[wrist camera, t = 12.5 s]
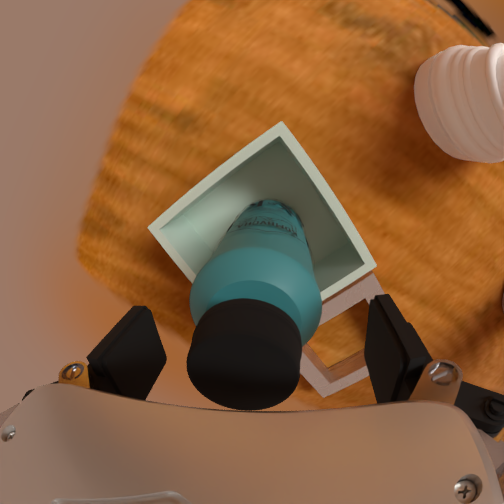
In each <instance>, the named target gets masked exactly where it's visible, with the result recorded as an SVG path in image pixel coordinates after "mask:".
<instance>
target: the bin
mask: <svg viewBox="0 0 504 504" xmlns="http://www.w3.org/2000/svg"><path fill="white" fill-rule="evenodd" d="M266 198H270V199H266ZM259 199H260V200H259ZM276 199H277V200H276ZM258 200H259V201H261V200H275V201H279V202H280V200H281V202H282V203H283V202H284V204H285V203H286V205H288V204H289V205H288V206H289V207H292V210H294V212H295V213H296V214H298V215H299V217H300V219H301V222H302V223H301V224H304V227H303V226H302V228H303V231H304V235H305V238H306V239H307V242H308V244H309V245H310V246H309V247H310V248H309V249H311V251H310V252H309V253H310V256H311V260H312V267H313V270H314V275H315V279H316V282H317V284H318V287H319V290H320V294H321V299H322V301H323V300H325V299H326V298H328V297H330V296H331V295H333V294H334V293H336V292H338V291H339V290H341V289H343V288H344V287H346V286H347V285H349V284H350V283H352V282H354V281H355V280H357V279H358V278H360V277H361V276H363V275H364V274H366V273H367V272H369V271H370V270H372V269H373V268H375V267H376V266H377V265H376V263H375V261H374V260H373V258H372V256H371V254H370V252H369V251H368V249H367V247H366V245H365V244H364V242H363V240H362V238H361V237H360V235H359V233H358V232H357V230H356V228H355V226H354V225H353V223H352V222H351V220H350V218H349V217H348V215H347V213H346V212H345V210H344V209H343V207H342V205H341V204H340V202H339V201H338V199H337V198H336V196H335V195H334V193H333V191H332V190H331V188H330V187H329V185H328V184H327V182H326V181H325V179H324V178H323V176H322V175H321V174H320V172H319V171H318V169H317V168H316V166H315V165H314V163H313V162H312V161H311V159H310V158H309V156H308V155H307V154H306V152H305V151H304V150H303V148H302V147H301V145H300V144H299V143H298V141H297V140H296V139H295V137H294V136H293V135H292V133H291V132H290V131H289V129H288V128H287V127H286V126H285V124H284V123H283V122H282V121H281V122H279V123H278V124H277V125H275V126H274V127H272V128H271V129H269V130H268V131H266V132H265V133H264V134H262V135H261V136H259V137H258V138H257V139H255V140H254V141H252V142H251V143H250V144H248V145H247V146H246V147H244V148H243V149H242V150H240V151H239V152H238V153H236V154H235V155H234V156H232V157H231V158H230V159H228V160H227V161H226V162H224V163H223V164H222V165H221V166H219V167H218V168H217V169H215V170H214V171H213V172H212V173H210V174H209V175H208V176H207V177H205V178H204V179H203V180H202V181H200V182H199V183H198V184H197V185H196V186H194V187H193V188H192V189H191V190H190V191H188V192H187V193H186V194H185V195H184V196H182V197H181V198H180V199H179V200H178V201H177V202H175V203H174V204H173V205H172V206H171V207H170V208H168V209H167V210H166V211H165V212H164V213H163V214H162V215H161V216H159V217H158V218H157V219H156V220H155V221H154V222H153V223H152V224H151V225H149V226H148V227H147V228H148V229H149V230H150V232H151V233H152V234H153V235H154V237H155V238H156V239H157V241H158V242H159V243H160V244H161V246H162V247H163V248H164V249H165V251H166V252H167V253H168V255H169V256H170V257H171V258H172V259H173V261H174V262H175V263H176V264H177V266H178V267H179V268H180V269H181V271H182V272H183V273H184V274H185V275H186V277H187V278H188V279H189V280H190V281H191V283H192V284H193V282H194V280H195V278H196V276H197V274H198V273H199V271H200V270H201V268H202V267H203V266H204V265H205V264H206V263H207V262H208V261H209V259H210V258H211V256H212V255H213V254H214V252H215V251H216V249H217V247H218V246H219V244H220V243H219V242H221V240H222V239H223V238H224V237H225V236H224V235H226V233H227V231H228V228H229V227H230V226H231V225H232V223H233V222H235V221H236V220H237V219H238V217H239V216H240V214H241V213H242V212H243V211H244V210H245V209H246V208H247V207H248V206H247V205H249V206H250V204H252V202H253V203H255V202H257V201H258ZM245 206H246V208H245ZM244 208H245V209H244ZM243 209H244V210H243ZM242 210H243V211H242ZM240 211H241V212H240ZM296 211H297V212H296ZM237 215H238V217H237ZM298 215H297V216H298ZM236 217H237V218H236ZM233 224H234V223H233ZM229 230H230V229H229ZM305 231H306V232H305ZM308 240H309V241H308ZM213 251H214V252H213ZM311 252H312V254H311Z"/></svg>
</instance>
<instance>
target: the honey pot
mask: <svg viewBox="0 0 504 504" xmlns="http://www.w3.org/2000/svg"><path fill="white" fill-rule="evenodd" d="M414 96H415V103H416V107H417V110H418V114H419V117H420V119H421V121H422V123H423V125H424V127H425V130H426V131H427V133H428V134H429V135H430V137H431V138H432V140H433V141H434V142H435V143H436V144H437V145H438V146H439V147H440V148H441V149H442V150H443V151H444V152H445V153H447V154H449V155H450V156H452V157H454V158H457V159H461V160H466V161H475V162H484V163H485V162H487V163H496V162H502V161H503V160H504V44H503V43H498V44H493V45H492V46H491V47H490V48H488V47H484V46H479V47H475V46H464V45H458V46H453V47H449V48H448V49H446V50H444V51H442V52H440V53H438V54H436V55H434V56H433V57H431V58H429V59H427V60H426V61H425V62H424V63H423V64H422V65H421V66H420V68H419V69H418V71H417V73H416V76H415V83H414Z"/></svg>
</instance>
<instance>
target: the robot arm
mask: <svg viewBox="0 0 504 504" xmlns="http://www.w3.org/2000/svg"><path fill="white" fill-rule="evenodd" d="M502 308H503V312H504V293H503V300H502ZM87 359H88V361H89V365H88V366H87V365H86V363H84V362H82V361H75V362H71V363H69V364H67V365H65V366H64V367H63V368H62V369H61V371H60V372H59V380H58V381H57V382H54V383H51V384H47V385H43V386H39V387H37V388H36V389H33V390H29V391H28V392H26V394H25V396H24V397H23V399H22V402H21V403H18V404H17V405H15V406H13V407H11V408H10V409H8V410H6V411H4V412H3V413H1V414H0V504H504V395H502V394H499V393H496V392H493V391H490V390H487V389H484V388H481V387H478V386H475V385H472V384H470V383H467V382H464V381H462V375H463V374H462V371H461V369H460V367H459V366H458V365H457V364H455V363H454V362H452V361H449V360H445V359H438V360H434V361H433V359H432V358H431V356H430V354H429V353H428V351H427V349H426V347H425V346H424V344H423V342H422V341H421V339H420V337H419V336H418V334H417V332H416V331H415V329H414V328H413V326H412V324H411V323H409V322H408V323H407V322H406V320H405V319H404V317H403V315H402V314H401V312H400V311H399V309H398V308H397V306H396V304H395V303H394V301H393V300H392V298H391V297H390V295H389V294H382V295H375V297H374V299H371V300H370V304H369V315H368V325H367V333H366V341H365V349H364V359H365V362H366V366H367V369H368V372H369V376H370V379H371V382H372V386H373V390H374V393H375V397H376V400H377V404H371V405H362V406H353V407H345V408H335V409H322V410H306V411H233V410H217V409H205V408H195V407H186V406H178V405H171V404H164V403H157V402H152V401H146V400H145V399H146V398H147V396H148V394H149V392H150V390H151V389H152V387H153V385H154V383H155V381H156V380H157V378H158V376H159V374H160V372H161V371H162V369H163V367H164V365H165V364H166V360H167V358H166V354H165V351H164V348H163V345H162V343H161V340H160V337H159V334H158V331H157V328H156V325H155V322H154V318H153V315H152V312H151V310H150V309H148V308H147V307H146V306H133V307H132V308H131V309H130V310H129V311H128V312H127V313H126V315H125V316H124V317H123V318H122V319H121V320H120V321H119V322H118V323H117V324H116V325H115V326H114V327H113V328H112V330H111V331H110V332H109V333H108V334H107V335H106V336H105V337H104V339H102V340H101V342H100V343H99V344H98V345H97V346H96V347H95V348H94V349H93V351H92V352H91V353H90V354H89V355H88V356H87Z"/></svg>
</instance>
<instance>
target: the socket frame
mask: <svg viewBox="0 0 504 504" xmlns="http://www.w3.org/2000/svg"><path fill="white" fill-rule="evenodd" d="M382 294H384V292H383V290H382V288H381V286H380V284H379V282H378V281H377V279H376V277H375V275H374V273H373V272H372V270H370V271H369V272H367V273H366V274H364V275H363V276H361V277H360V278H358V279H357V280H355V281H354V282H352V283H350V284H349V285H347V286H346V287H344V288H343V289H341V290H339V291H338V292H336V293H334V294H333V295H331V296H330V297H328V298H326V299H325V300H323V301H322V315H321V319H320V323H319V325H321V324H323V323H325V322H326V321H328V320H330V319H332V318H333V317H335V316H337V315H338V314H340V313H342V312H343V311H345V310H347V309H348V308H350V307H352V306H353V305H355V304H356V303H358V302H360V301H361V300H363V299H364V298H366V300H367V302H368V304H370V300H371V299H374V297H375V295H382ZM319 325H318V326H319ZM300 373H301V374H302V375H303V377H304V378H305V379H306V380H307V381H308V382H309V383H310V384H311V385H312V386H313V387H314V388H315V389H316V390H317V392H318V393H319V394H320V395H321V396H322V397H323V398H324V397H326V396H328V395H331V394H333V393H335V392H337V391H339V390H341V389H343V388H345V387H348V386H350V385H352V384H354V383H356V382H358V381H359V380H361V379H363V378H365V377H367V376H369V372H368V369H367V366H366V362H365V359H364V349H363V350H361V351H359V352H358V353H356V354H354V355H352V356H350V357H349V358H347V359H345V360H343V361H341V362H339V363H337V364H335V365H333V366H331V367H329V368H327V367H326V366H325V365H324V364H323V362H322V361H321V360H320V359H319V357H318V356H317V355H316V354H315V353H314V351H313V350H312V349H311V348H310V346H309V345H308V344H307V343H306V344H305V345H304V346H303V347H302V357H301V361H300Z"/></svg>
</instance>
